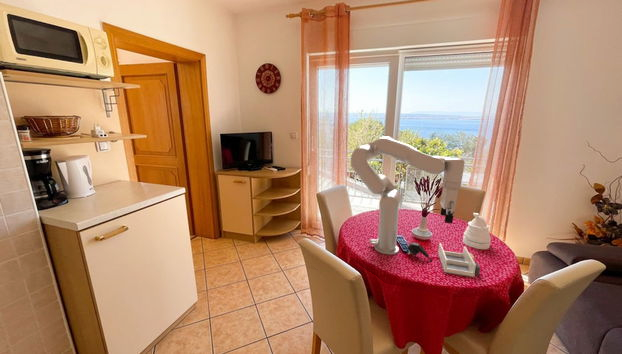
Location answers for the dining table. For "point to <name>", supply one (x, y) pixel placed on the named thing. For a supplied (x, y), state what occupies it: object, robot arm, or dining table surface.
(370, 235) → the dining table surface
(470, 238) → the honey pot
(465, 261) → the two-cubby white shelf
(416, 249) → the power plug
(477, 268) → the grey flat block
